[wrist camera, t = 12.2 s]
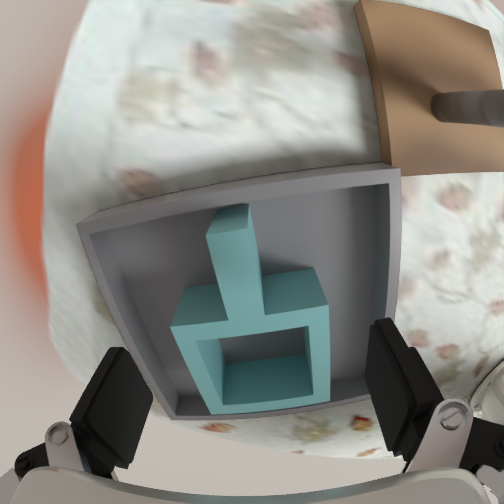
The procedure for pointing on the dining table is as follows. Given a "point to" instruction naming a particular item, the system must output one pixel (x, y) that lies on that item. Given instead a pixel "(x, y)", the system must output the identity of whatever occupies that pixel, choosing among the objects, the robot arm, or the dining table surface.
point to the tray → (272, 262)
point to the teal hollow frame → (252, 325)
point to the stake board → (433, 90)
